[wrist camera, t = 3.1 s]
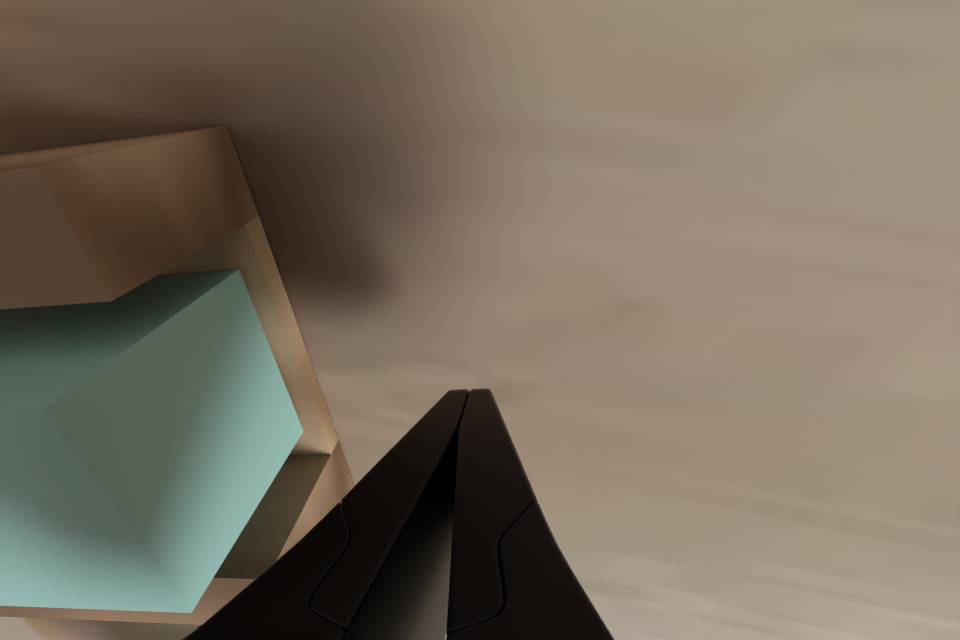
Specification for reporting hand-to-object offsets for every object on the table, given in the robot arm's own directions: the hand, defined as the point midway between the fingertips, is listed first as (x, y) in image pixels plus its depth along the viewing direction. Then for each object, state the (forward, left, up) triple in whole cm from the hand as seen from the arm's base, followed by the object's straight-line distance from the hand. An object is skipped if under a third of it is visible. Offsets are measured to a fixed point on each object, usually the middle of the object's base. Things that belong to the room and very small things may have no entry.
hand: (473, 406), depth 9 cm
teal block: (0, +8, -2) cm, 8 cm away
